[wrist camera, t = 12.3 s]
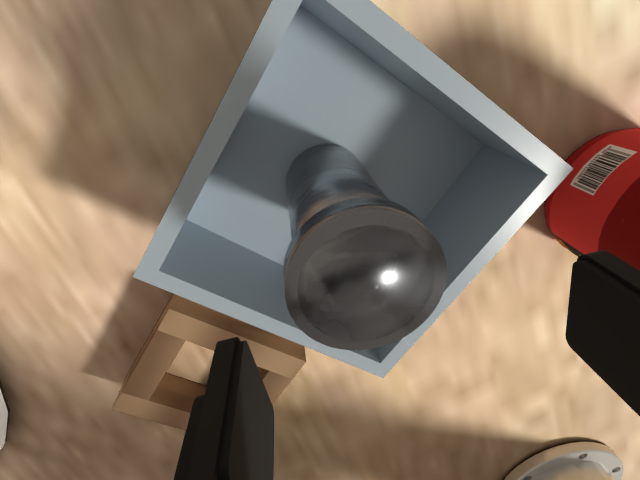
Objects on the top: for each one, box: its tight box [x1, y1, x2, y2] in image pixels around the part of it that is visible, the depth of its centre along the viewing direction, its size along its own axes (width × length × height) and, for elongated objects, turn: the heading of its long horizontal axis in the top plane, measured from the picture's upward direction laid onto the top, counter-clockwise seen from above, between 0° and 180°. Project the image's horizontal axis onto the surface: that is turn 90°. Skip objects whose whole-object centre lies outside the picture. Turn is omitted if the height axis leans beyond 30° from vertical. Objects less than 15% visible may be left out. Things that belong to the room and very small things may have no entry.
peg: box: [283, 144, 447, 350], centre depth 16 cm, size 5×5×10 cm
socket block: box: [112, 294, 306, 430], centre depth 25 cm, size 9×9×2 cm
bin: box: [133, 0, 574, 378], centre depth 19 cm, size 14×14×6 cm
